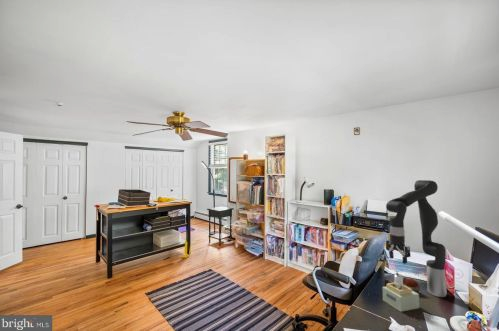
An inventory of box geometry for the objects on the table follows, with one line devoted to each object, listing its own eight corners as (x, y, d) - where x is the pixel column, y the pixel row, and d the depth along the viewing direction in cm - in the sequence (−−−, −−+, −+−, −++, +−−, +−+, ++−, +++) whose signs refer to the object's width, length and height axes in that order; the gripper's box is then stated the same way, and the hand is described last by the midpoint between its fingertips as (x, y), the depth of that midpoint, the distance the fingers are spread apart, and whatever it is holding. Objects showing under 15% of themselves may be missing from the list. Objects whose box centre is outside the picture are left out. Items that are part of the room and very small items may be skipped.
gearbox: (396, 294, 141) (395, 278, 142) (419, 307, 127) (418, 289, 127) (378, 297, 138) (378, 280, 138) (400, 311, 123) (399, 292, 124)
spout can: (398, 288, 134) (397, 270, 134) (404, 291, 130) (404, 274, 130) (392, 289, 133) (392, 271, 133) (399, 292, 128) (399, 274, 129)
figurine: (380, 276, 150) (401, 270, 156) (380, 288, 150) (401, 282, 156) (400, 287, 136) (423, 281, 142) (401, 301, 136) (423, 294, 142)
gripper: (413, 236, 127) (414, 264, 126) (391, 230, 141) (392, 255, 140) (403, 237, 125) (404, 266, 124) (382, 231, 139) (383, 257, 138)
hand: (397, 260), depth 132 cm, fingers open, 8 cm apart
